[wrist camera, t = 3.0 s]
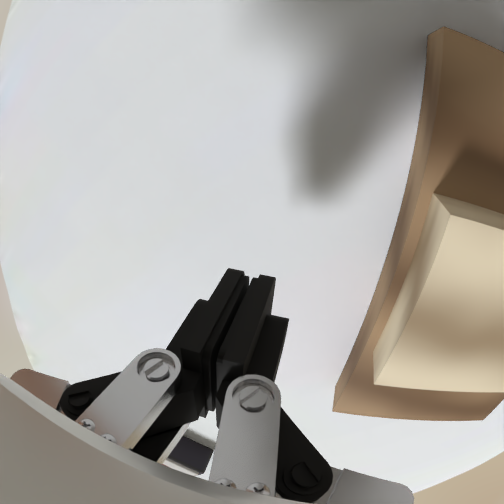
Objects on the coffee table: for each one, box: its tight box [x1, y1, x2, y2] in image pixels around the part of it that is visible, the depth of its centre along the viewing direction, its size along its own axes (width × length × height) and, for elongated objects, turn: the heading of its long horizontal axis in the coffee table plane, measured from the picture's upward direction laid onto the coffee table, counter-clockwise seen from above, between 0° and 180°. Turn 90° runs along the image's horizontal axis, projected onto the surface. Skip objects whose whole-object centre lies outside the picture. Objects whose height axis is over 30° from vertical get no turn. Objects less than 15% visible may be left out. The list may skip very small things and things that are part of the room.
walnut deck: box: [333, 27, 504, 421], centre depth 11 cm, size 20×12×2 cm, turn 177°
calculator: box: [162, 436, 213, 476], centre depth 32 cm, size 11×4×15 cm
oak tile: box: [373, 193, 504, 392], centre depth 9 cm, size 8×10×2 cm
